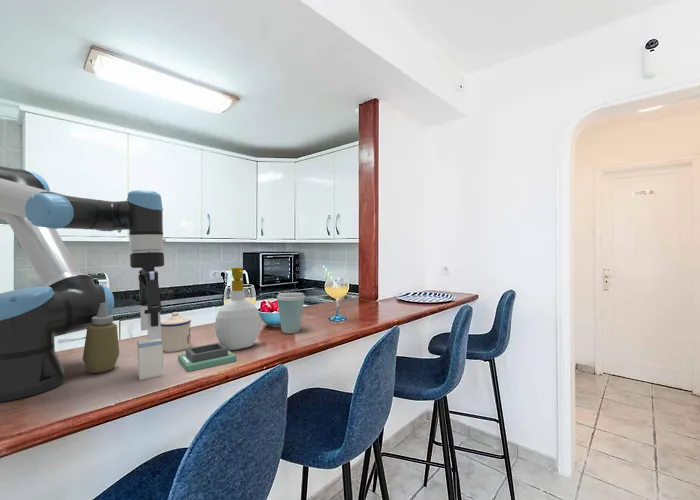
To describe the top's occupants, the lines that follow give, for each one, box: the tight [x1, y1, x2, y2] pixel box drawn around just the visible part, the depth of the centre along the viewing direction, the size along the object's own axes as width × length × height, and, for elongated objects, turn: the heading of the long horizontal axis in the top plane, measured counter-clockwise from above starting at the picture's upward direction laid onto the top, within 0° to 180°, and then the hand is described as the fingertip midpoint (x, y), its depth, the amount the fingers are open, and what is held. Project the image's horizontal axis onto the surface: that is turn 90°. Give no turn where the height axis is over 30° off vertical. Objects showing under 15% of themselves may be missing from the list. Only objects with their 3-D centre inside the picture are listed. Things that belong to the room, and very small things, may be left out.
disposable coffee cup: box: [276, 292, 306, 334], centre depth 131 cm, size 11×11×15 cm
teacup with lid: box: [160, 311, 192, 353], centre depth 113 cm, size 12×9×12 cm
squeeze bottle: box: [82, 303, 120, 374], centre depth 92 cm, size 8×8×18 cm
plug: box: [136, 338, 164, 381], centre depth 88 cm, size 6×4×9 cm
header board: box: [177, 342, 237, 373], centre depth 99 cm, size 13×12×4 cm
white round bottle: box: [214, 266, 261, 351], centre depth 110 cm, size 14×9×26 cm, turn 125°
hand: (150, 334), depth 88 cm, fingers open, 13 cm apart
